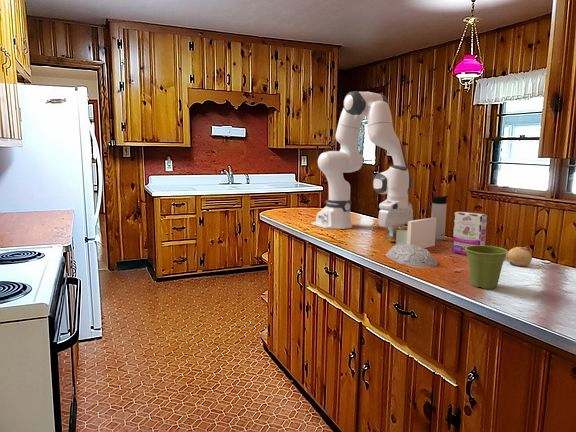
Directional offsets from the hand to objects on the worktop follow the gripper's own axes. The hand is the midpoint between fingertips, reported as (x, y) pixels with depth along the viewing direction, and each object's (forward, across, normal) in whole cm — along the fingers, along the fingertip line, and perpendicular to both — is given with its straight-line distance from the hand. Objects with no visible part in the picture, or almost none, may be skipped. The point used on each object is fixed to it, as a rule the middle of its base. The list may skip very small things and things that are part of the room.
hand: (395, 235), depth 192 cm
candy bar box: (+4, -5, +31) cm, 31 cm away
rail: (+2, 0, +3) cm, 4 cm away
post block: (+3, 0, +9) cm, 10 cm away
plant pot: (+3, +29, +54) cm, 61 cm away
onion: (+4, -5, +50) cm, 50 cm away
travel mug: (+4, -21, +8) cm, 23 cm away
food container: (+4, +19, +21) cm, 29 cm away
